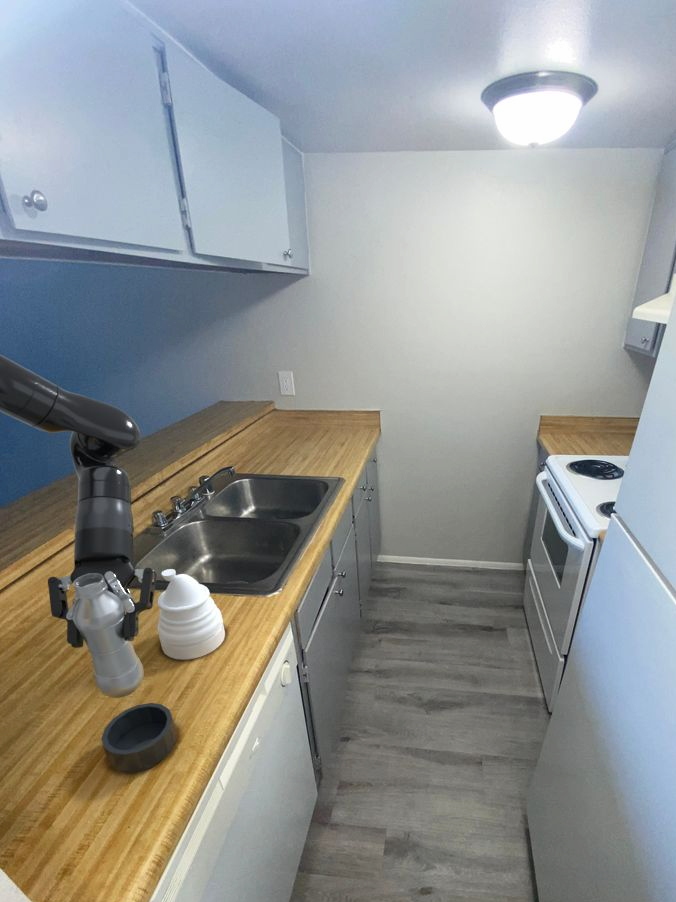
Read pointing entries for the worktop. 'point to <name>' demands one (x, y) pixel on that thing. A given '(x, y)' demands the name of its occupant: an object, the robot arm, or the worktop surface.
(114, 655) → the silver bottle
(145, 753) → the socket
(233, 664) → the worktop surface
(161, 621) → the honey pot
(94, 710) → the worktop surface
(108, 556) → the robot arm
